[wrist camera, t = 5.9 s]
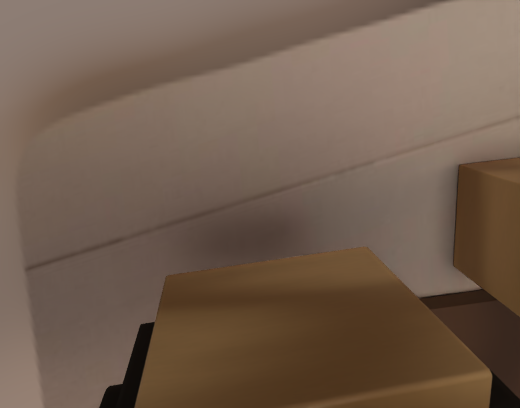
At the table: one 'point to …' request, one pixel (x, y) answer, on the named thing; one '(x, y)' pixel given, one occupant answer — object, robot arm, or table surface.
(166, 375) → the tile
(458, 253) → the tile
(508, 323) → the word board
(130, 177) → the table surface
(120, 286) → the table surface
